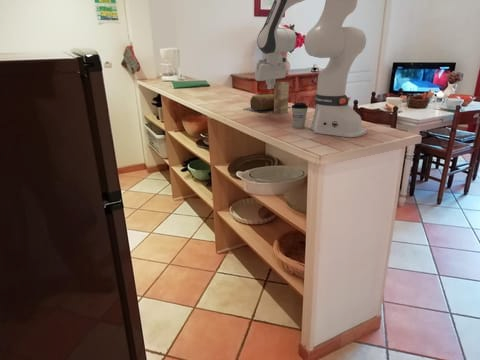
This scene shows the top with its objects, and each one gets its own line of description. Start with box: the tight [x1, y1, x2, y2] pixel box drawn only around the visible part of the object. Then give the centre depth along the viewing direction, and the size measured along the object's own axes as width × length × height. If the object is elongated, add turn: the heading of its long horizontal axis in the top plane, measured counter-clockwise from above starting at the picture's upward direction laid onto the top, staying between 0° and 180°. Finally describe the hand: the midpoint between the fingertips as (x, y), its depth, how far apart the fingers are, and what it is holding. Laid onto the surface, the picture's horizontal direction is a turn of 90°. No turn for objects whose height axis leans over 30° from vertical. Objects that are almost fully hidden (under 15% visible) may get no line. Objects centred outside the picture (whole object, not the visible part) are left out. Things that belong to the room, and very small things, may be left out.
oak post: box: [273, 81, 290, 115], centre depth 174 cm, size 5×5×15 cm
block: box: [249, 93, 274, 110], centre depth 182 cm, size 11×8×20 cm
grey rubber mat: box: [242, 106, 291, 114], centre depth 187 cm, size 16×20×1 cm
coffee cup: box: [291, 102, 309, 129], centre depth 145 cm, size 7×7×10 cm
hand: (270, 89), depth 168 cm, fingers closed
